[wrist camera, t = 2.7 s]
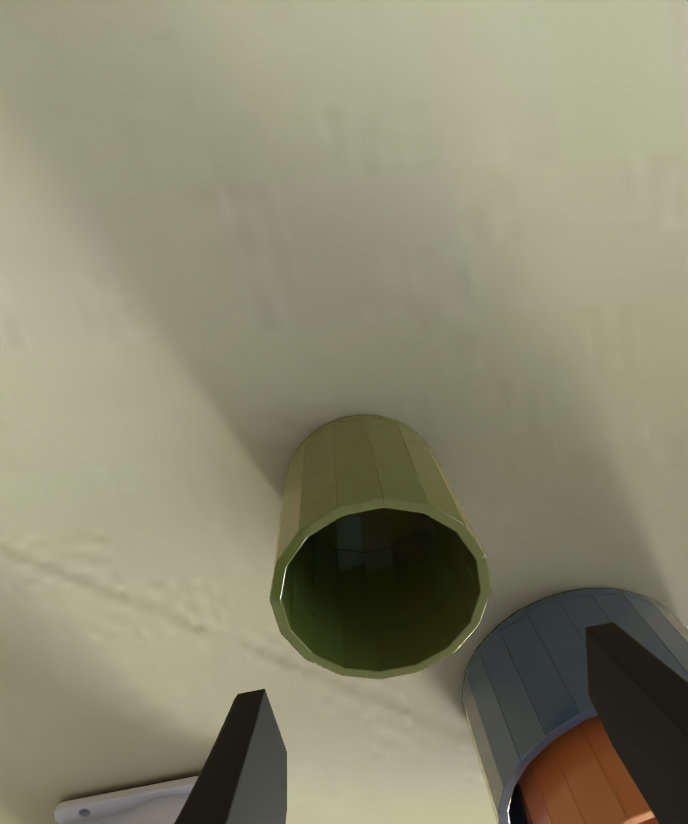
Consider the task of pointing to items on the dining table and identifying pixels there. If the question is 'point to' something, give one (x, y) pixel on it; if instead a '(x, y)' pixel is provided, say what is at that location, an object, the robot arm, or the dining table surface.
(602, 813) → the stack mid
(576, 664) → the stack big
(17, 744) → the dining table surface
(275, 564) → the olive cup
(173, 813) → the robot arm
